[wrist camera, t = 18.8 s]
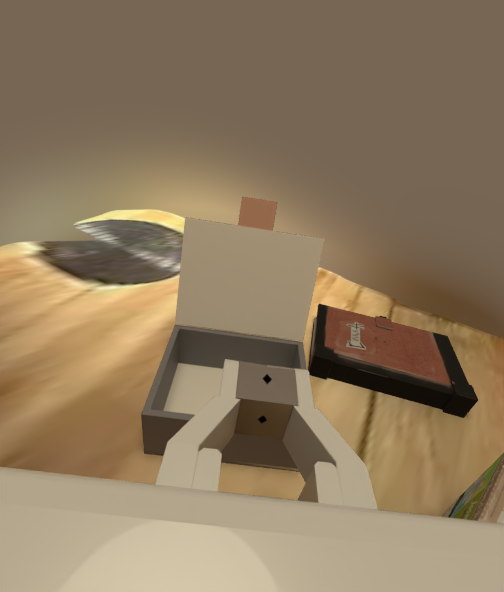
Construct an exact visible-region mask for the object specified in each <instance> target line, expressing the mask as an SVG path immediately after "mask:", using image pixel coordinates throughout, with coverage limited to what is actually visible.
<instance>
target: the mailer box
mask: <svg viewBox="0 0 504 592" xmlns="http://www.w3.org/2000/svg"><path fill="white" fill-rule="evenodd" d="M225 359H228V360H235V361H243V362H249V363H255V364H262V365H271V366H279V367H287V368H293V369H294V368H295V369H303V370H306V362H305V355H304V348H303V342H298V341H291V340H283V339H276V338H269V337H261V336H254V335H247V334H240V333H232V332H225V331H218V330H211V329H203V328H196V327H189V326H181V325H175V326H174V329H173V332H172V334H171V337H170V340H169V342H168V345H167V348H166V350H165V353H164V356H163V358H162V361H161V364H160V366H159V369H158V371H157V374H156V377H155V379H154V382H153V385H152V387H151V390H150V393H149V395H148V398H147V401H146V403H145V406H144V409H143V411H142V414H141V417H142V430H143V443H144V453H146V454H155V455H163V456H164V453H165V449H166V446H167V442H168V441H169V440H170V439H171V438H172V437H173V436H174V435H175V434H176V433H177V432H178V431H179V430H180V429H181V428H182V427H183V426H184V425H185V424H187V423H188V422H189V421H190V420H191V419H192V418H193V417H194V416H195V415H196V414H197V413H198V412H199V411H200V410H201V409H202V408H203V407H204V406H205V405H206V404H207V403H208V402H209V401H210V400H211V399H212V398H213V397H214V396H219V393H220V387H221V380H222V373H223V367H224V361H225ZM282 440H283V439H276V438H270V437H263V436H256V435H245V434H234V435H233V437H232V438H231V439H230V441H229V442H228V443H227V445H226V446H225V447H224V449H223V450H222V451H221V454H222V457H221V462H223V463H231V464H240V465H248V466H257V467H265V468H274V469H282V470H291V471H299V470H298V468H297V466H296V464H295V463H294V461H293V459H292V457H291V455H290V454H289V452H288V450H287V448H286V447H285V445H284V443H283V441H282ZM299 472H300V471H299Z"/></svg>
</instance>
